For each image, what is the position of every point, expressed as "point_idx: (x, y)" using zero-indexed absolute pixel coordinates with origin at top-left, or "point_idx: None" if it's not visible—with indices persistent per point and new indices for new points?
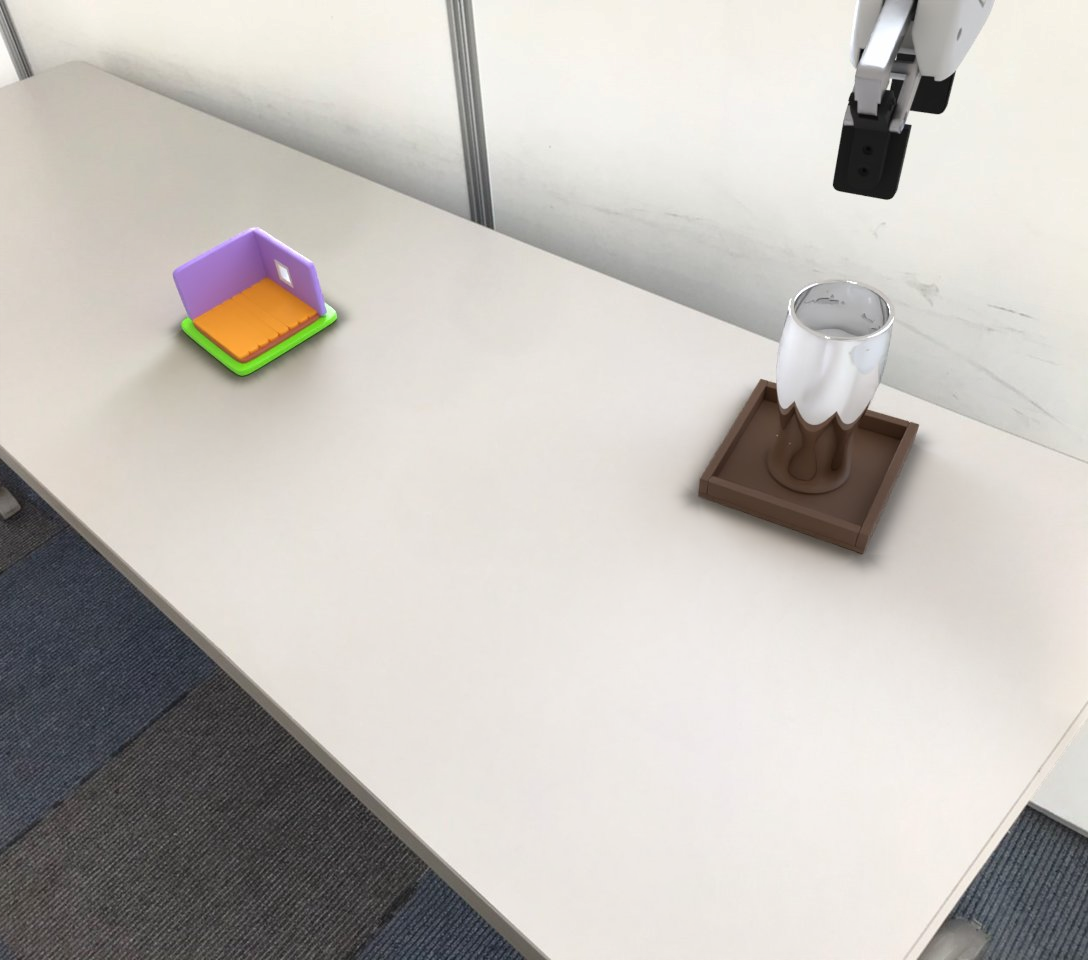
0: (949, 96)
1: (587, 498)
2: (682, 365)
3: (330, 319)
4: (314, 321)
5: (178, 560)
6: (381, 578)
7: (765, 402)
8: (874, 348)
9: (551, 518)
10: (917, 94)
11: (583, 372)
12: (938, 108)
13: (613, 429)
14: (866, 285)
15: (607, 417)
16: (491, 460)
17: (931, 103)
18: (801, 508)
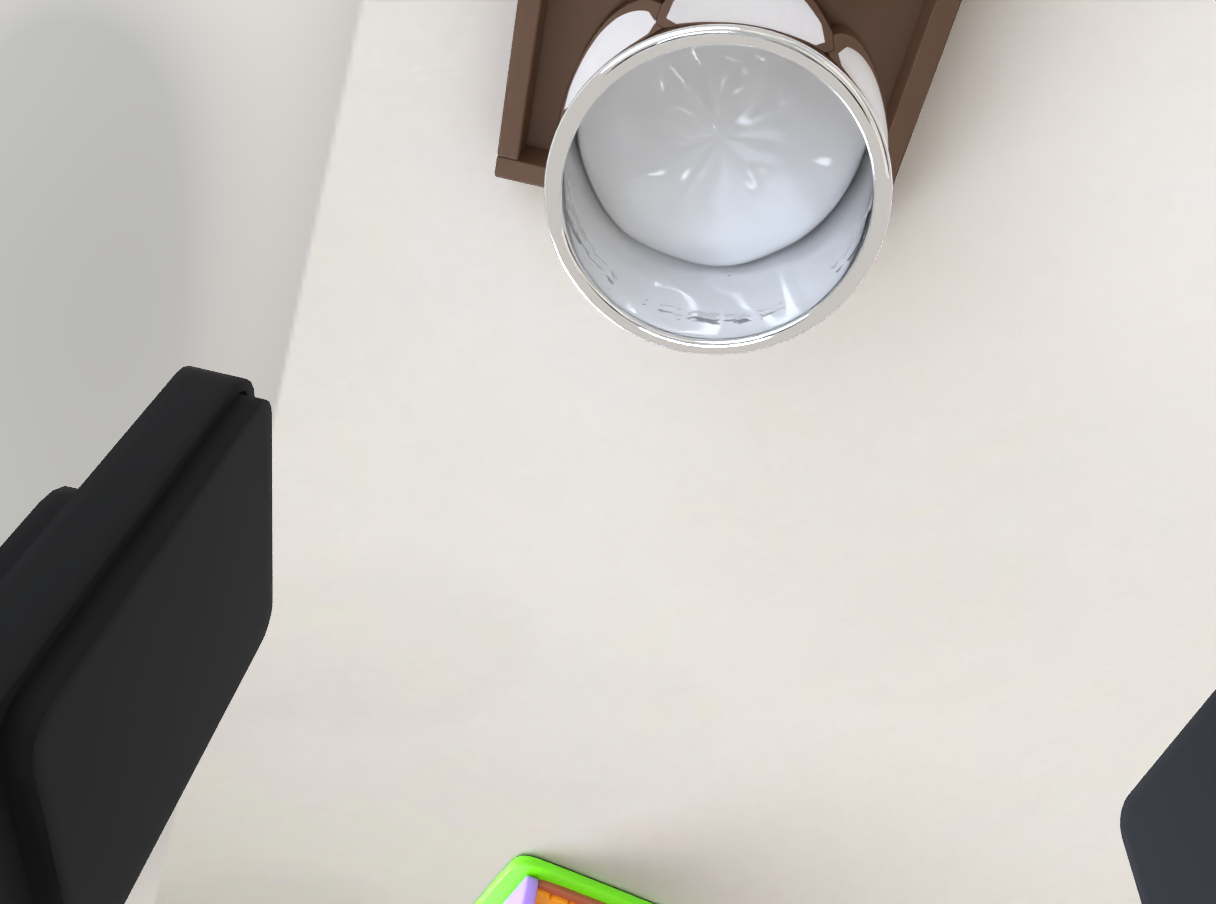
0: (155, 411)
1: (896, 433)
2: (454, 326)
3: (537, 866)
4: (552, 884)
5: (1095, 900)
6: (1123, 683)
7: (535, 139)
8: (846, 59)
9: (958, 480)
10: (227, 587)
11: (538, 499)
12: (253, 426)
13: (690, 421)
14: (565, 135)
15: (658, 437)
16: (820, 595)
17: (245, 483)
18: (937, 23)
